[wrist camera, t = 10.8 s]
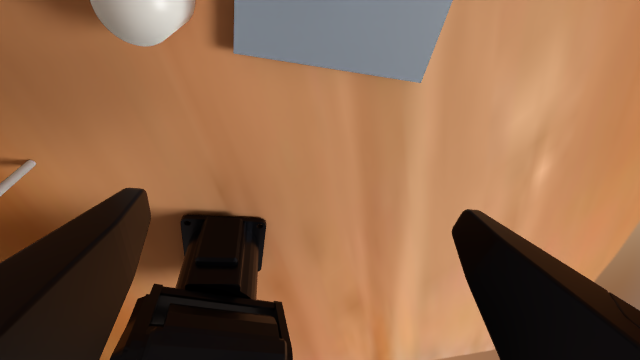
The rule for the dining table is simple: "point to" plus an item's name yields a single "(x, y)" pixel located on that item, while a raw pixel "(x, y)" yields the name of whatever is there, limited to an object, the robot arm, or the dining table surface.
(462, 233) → the robot arm
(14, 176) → the lollipop
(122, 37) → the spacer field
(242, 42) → the board
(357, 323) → the dining table surface
